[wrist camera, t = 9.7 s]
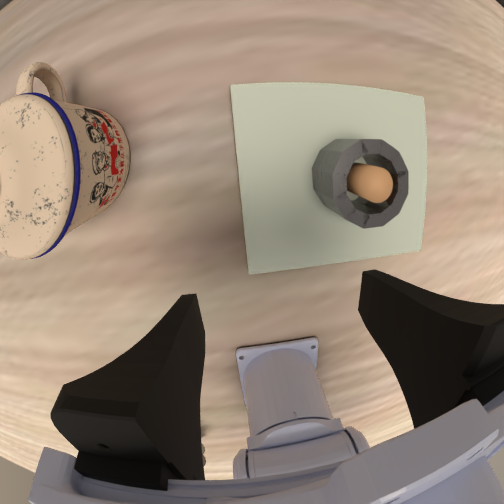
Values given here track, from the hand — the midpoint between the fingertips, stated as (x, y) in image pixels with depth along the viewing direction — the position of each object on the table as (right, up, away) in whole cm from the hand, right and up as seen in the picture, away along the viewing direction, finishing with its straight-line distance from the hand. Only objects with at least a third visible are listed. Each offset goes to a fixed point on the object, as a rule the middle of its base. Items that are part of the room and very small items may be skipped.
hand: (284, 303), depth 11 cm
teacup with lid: (-15, +10, +6) cm, 19 cm away
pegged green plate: (+6, +8, +9) cm, 13 cm away
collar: (+6, +8, +8) cm, 12 cm away
